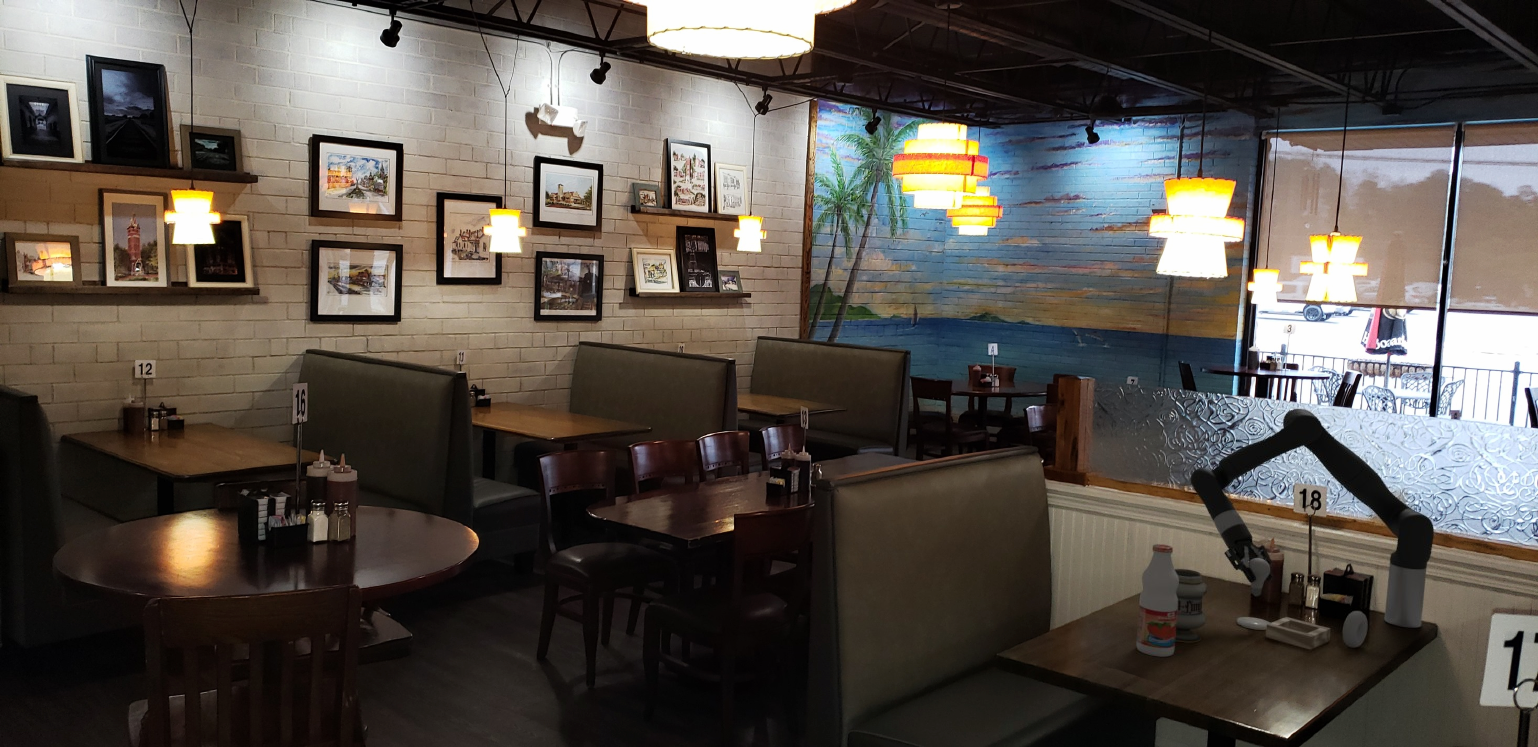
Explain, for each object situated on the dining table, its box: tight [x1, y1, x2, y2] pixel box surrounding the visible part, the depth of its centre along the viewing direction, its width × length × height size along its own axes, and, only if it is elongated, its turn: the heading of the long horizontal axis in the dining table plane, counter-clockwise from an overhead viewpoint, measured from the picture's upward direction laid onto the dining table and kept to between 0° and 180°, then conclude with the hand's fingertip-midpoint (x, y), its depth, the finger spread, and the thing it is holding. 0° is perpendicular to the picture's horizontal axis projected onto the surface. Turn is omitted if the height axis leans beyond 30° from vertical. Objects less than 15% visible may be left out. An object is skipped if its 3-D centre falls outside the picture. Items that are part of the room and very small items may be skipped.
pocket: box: [1265, 616, 1331, 651], centre depth 294 cm, size 12×12×4 cm
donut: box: [1342, 610, 1369, 649], centre depth 289 cm, size 10×3×10 cm, turn 129°
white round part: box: [1236, 616, 1271, 631], centre depth 305 cm, size 9×9×1 cm
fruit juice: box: [1136, 543, 1179, 658], centre depth 279 cm, size 9×9×28 cm
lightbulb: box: [1248, 557, 1271, 597], centre depth 304 cm, size 6×6×11 cm
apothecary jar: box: [1174, 568, 1209, 644], centre depth 292 cm, size 12×12×18 cm
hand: (1262, 580), depth 303 cm, fingers closed on lightbulb, 6 cm apart
